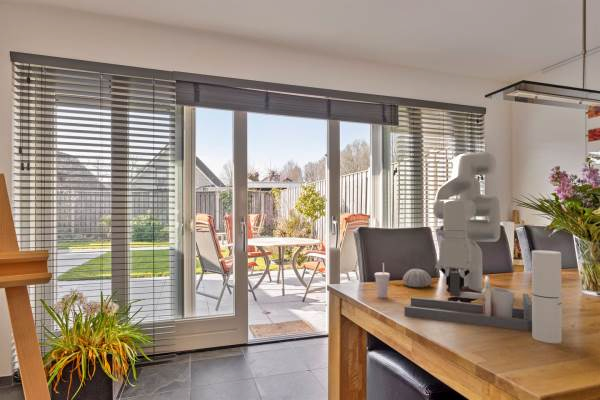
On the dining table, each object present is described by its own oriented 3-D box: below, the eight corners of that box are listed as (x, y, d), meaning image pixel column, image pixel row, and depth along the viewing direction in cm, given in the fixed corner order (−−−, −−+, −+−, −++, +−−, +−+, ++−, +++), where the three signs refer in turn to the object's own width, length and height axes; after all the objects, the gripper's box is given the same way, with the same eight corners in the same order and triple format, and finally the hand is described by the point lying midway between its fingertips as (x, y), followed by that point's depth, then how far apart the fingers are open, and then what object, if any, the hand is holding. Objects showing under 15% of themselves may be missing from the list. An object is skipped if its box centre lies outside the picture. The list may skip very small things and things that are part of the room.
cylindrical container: (526, 334, 112) (526, 250, 112) (549, 334, 112) (548, 250, 112) (544, 343, 104) (543, 253, 105) (568, 342, 105) (567, 253, 105)
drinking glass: (511, 325, 120) (513, 294, 120) (488, 320, 124) (490, 290, 124) (513, 320, 126) (515, 290, 125) (491, 315, 129) (493, 286, 129)
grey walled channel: (411, 304, 144) (411, 270, 144) (528, 317, 128) (527, 278, 128) (404, 315, 131) (404, 277, 131) (534, 331, 114) (533, 288, 114)
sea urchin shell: (398, 287, 175) (398, 269, 175) (406, 281, 187) (406, 265, 187) (428, 290, 169) (428, 272, 169) (434, 284, 180) (434, 268, 180)
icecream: (487, 286, 148) (446, 286, 154) (488, 285, 141) (445, 285, 147) (489, 304, 146) (448, 304, 152) (490, 304, 139) (447, 303, 145)
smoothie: (390, 299, 153) (390, 264, 153) (374, 298, 154) (374, 264, 154) (389, 295, 159) (389, 262, 159) (374, 294, 161) (374, 261, 161)
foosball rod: (451, 310, 135) (451, 269, 136) (492, 314, 130) (492, 272, 130) (449, 316, 127) (449, 274, 127) (493, 322, 122) (493, 277, 122)
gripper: (428, 235, 131) (429, 287, 131) (481, 236, 124) (481, 292, 124) (431, 233, 138) (431, 283, 138) (480, 235, 131) (481, 288, 131)
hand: (455, 287), depth 131 cm, fingers closed on foosball rod, 3 cm apart
